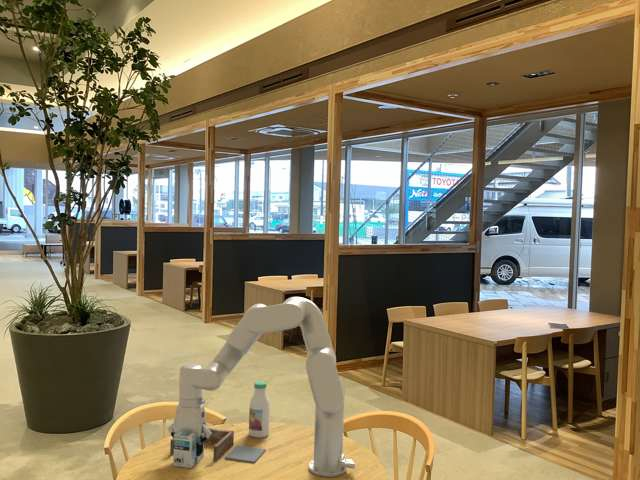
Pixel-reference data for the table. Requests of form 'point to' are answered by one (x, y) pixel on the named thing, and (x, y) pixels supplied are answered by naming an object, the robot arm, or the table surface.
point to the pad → (245, 454)
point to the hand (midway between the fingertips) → (189, 452)
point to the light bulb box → (186, 449)
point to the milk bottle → (259, 412)
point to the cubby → (222, 440)
